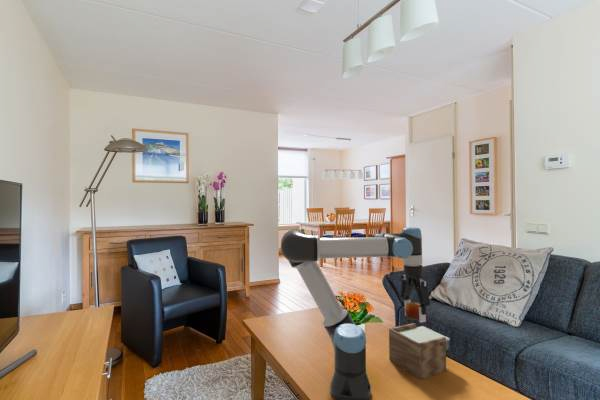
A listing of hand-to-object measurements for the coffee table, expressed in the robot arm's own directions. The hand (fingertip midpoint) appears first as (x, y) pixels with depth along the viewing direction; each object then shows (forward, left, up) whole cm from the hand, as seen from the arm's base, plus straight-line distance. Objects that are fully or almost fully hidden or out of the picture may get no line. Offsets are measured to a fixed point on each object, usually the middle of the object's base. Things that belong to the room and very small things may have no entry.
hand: (415, 318), depth 136 cm
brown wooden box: (+3, +3, -22) cm, 22 cm away
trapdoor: (+6, +3, -14) cm, 16 cm away
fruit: (0, 0, 0) cm, 1 cm away
